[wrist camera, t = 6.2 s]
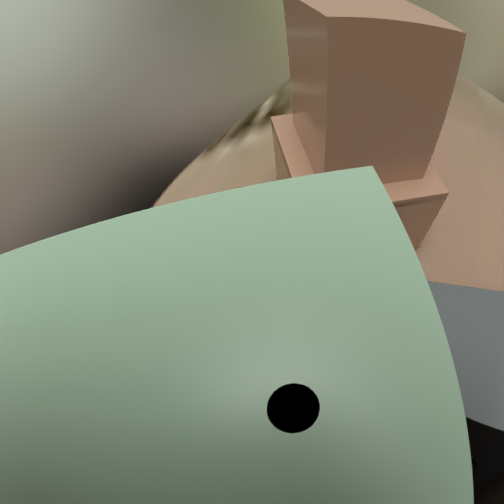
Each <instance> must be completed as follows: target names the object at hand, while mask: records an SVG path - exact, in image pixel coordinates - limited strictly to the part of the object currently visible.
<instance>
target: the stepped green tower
mask: <svg viewBox="0 0 504 504" xmlns="http://www.w3.org/2000/svg"><path fill="white" fill-rule="evenodd" d="M0 504H474V494H473V474H472V462H471V453H470V444H469V437H468V430H467V423H466V417H465V412H464V406H463V401H462V396H461V392H460V387H459V383H458V378H457V374H456V370H455V366H454V362H453V358H452V355H451V351H450V348H449V344H448V341H447V337H446V334H445V331H444V328H443V324H442V321H441V318H440V315H439V312H438V309H437V306H436V304H435V301H434V298H433V295H432V292H431V290H430V287H429V284H428V282H427V279H426V277H425V274H424V272H423V269H422V267H421V264H420V262H419V259H418V257H417V255H416V252H415V250H414V248H413V245H412V243H411V241H410V239H409V236H408V234H407V232H406V230H405V228H404V226H403V223H402V221H401V219H400V217H399V215H398V213H397V211H396V209H395V207H394V205H393V203H392V201H391V199H390V197H389V195H388V193H387V191H386V190H385V188H384V186H383V184H382V182H381V180H380V178H379V177H378V175H377V173H376V171H375V169H374V168H373V166H366V167H358V168H351V169H344V170H337V171H331V172H324V173H318V174H312V175H306V176H300V177H294V178H288V179H283V180H277V181H272V182H267V183H261V184H256V185H251V186H246V187H241V188H236V189H231V190H227V191H222V192H217V193H213V194H208V195H204V196H199V197H195V198H191V199H186V200H182V201H178V202H174V203H170V204H166V205H162V206H158V207H154V208H150V209H146V210H143V211H138V212H135V213H131V214H127V215H123V216H120V217H116V218H113V219H109V220H106V221H102V222H99V223H95V224H92V225H88V226H85V227H82V228H78V229H75V230H72V231H69V232H66V233H63V234H59V235H56V236H53V237H50V238H47V239H44V240H41V241H38V242H35V243H32V244H29V245H26V246H23V247H21V248H18V249H15V250H12V251H10V252H6V253H4V254H1V255H0Z"/></svg>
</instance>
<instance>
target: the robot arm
mask: <svg viewBox="0 0 504 504" xmlns="http://www.w3.org/2000/svg"><path fill="white" fill-rule="evenodd" d="M465 417H466V416H465ZM466 423H467V430H468V437H469V444H470V453H471V462H472V474H473V494H474V504H504V431H503V430H500V429H497V428H494V427H491V426H488V425H486V424H483V423H480V422H477V421H475V420H473V419H470V418H468V417H466Z"/></svg>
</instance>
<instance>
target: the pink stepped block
mask: <svg viewBox="0 0 504 504" xmlns="http://www.w3.org/2000/svg"><path fill="white" fill-rule="evenodd" d="M283 4H284V14H285V23H286V34H287V44H288V56H289V67H290V82H291V96H292V112H293V114H286V115H280V116H273V117H271V125H272V134H273V143H274V152H275V161H276V171H277V180H283V179H288V178H294V177H300V176H306V175H312V174H318V173H324V172H331V171H337V170H344V169H351V168H358V167H366V166H373V168H374V169H375V171H376V173H377V175H378V177H379V178H380V180H381V182H382V184H383V186H384V188H385V190H386V191H387V193H388V195H389V197H390V199H391V201H392V203H393V205H394V207H395V209H396V211H397V213H398V215H399V217H400V219H401V221H402V223H403V226H404V228H405V230H406V232H407V234H408V236H409V239H410V241H411V243H412V245H413V248H414V250H417V248H418V247H419V245H420V243H421V242H422V240H423V238H424V237H425V235H426V233H427V232H428V230H429V228H430V226H431V225H432V223H433V221H434V219H435V218H436V216H437V214H438V212H439V210H440V209H441V207H442V205H443V203H444V201H445V199H446V197H447V196H448V194H449V192H448V190H447V188H446V187H445V185H444V184H443V182H442V180H441V179H440V177H439V176H438V174H437V173H436V171H435V170H434V168H433V167H432V165H431V164H430V159H431V157H432V154H433V151H434V148H435V146H436V143H437V140H438V137H439V134H440V131H441V128H442V125H443V122H444V119H445V116H446V113H447V109H448V106H449V103H450V99H451V96H452V92H453V89H454V85H455V81H456V77H457V73H458V69H459V65H460V61H461V57H462V52H463V47H464V42H465V37H466V33H465V32H464V31H462V30H460V29H459V28H457V27H455V26H454V25H452V24H450V23H449V22H447V21H445V20H443V19H441V18H440V17H438V16H436V15H434V14H432V13H430V12H428V11H426V10H424V9H422V8H420V7H418V6H416V5H414V4H412V3H410V2H407V1H405V0H283Z"/></svg>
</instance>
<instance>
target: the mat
mask: <svg viewBox="0 0 504 504" xmlns="http://www.w3.org/2000/svg"><path fill="white" fill-rule="evenodd" d="M427 282H428V284H429V287H430V290H431V292H432V295H433V298H434V301H435V304H436V306H437V309H438V312H439V315H440V318H441V321H442V324H443V328H444V331H445V334H446V337H447V341H448V344H449V348H450V351H451V355H452V358H453V362H454V366H455V370H456V374H457V378H458V383H459V387H460V392H461V396H462V401H463V406H464V412H465V416H466V417H468V418H470V419H473V420H475V421H477V422H480V423H483V424H486V425H488V426H491V427H494V428H497V429H500V430H503V431H504V292H502V291H495V290H487V289H480V288H473V287H466V286H458V285H451V284H444V283H437V282H430V281H427Z"/></svg>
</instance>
